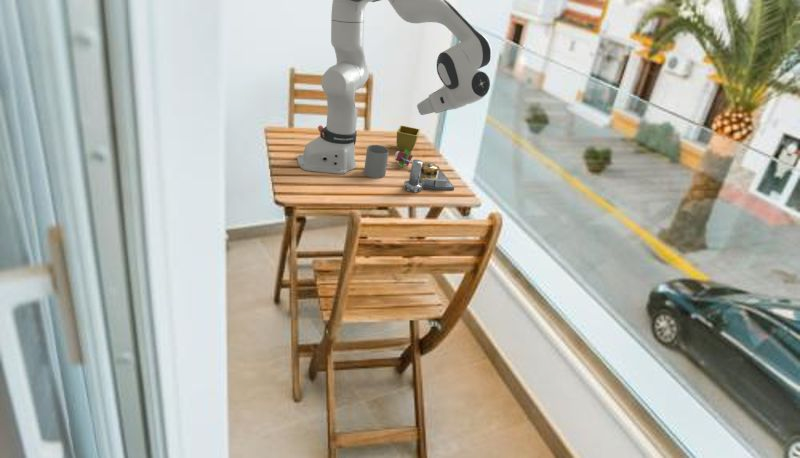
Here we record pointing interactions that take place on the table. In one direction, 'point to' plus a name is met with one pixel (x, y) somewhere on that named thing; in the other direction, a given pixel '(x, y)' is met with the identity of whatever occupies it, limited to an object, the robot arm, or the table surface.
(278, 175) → the table surface
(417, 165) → the gear
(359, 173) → the table surface
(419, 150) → the table surface
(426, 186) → the carrier
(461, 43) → the robot arm
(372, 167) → the cup
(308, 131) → the table surface
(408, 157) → the geometric puzzle
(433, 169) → the sun gear
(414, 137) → the flower pot
